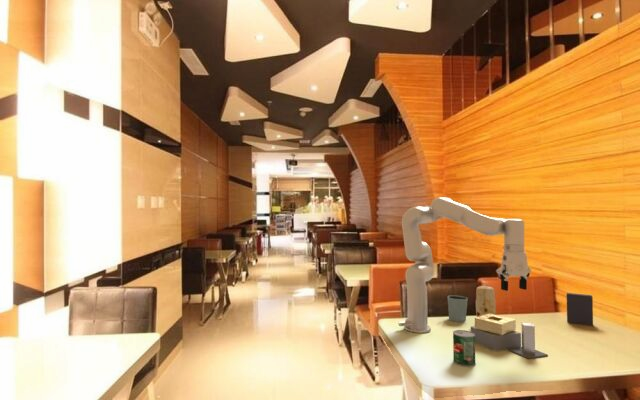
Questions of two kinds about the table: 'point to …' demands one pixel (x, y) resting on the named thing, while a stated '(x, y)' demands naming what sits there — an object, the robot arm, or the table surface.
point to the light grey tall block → (528, 338)
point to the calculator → (580, 309)
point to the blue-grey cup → (457, 308)
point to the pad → (527, 355)
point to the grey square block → (497, 339)
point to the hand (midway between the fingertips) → (513, 289)
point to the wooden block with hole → (495, 324)
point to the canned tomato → (464, 348)
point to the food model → (485, 301)
